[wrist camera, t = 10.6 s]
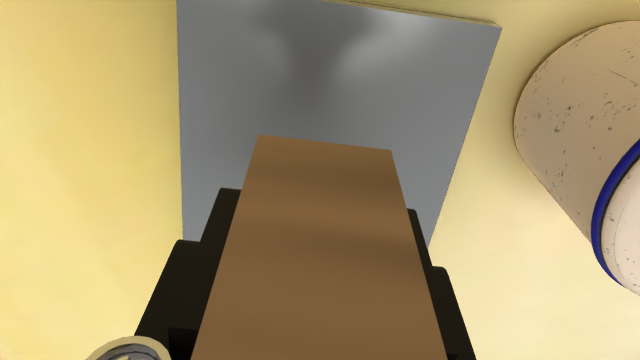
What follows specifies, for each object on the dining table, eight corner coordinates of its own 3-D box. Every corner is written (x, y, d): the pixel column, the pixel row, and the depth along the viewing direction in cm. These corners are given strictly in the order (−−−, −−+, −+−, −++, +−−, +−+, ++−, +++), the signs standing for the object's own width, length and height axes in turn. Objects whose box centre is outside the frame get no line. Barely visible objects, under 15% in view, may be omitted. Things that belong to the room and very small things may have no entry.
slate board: (182, -24, 19) (175, -21, 18) (494, 22, 20) (502, 27, 19) (189, 303, 29) (184, 315, 28) (395, 324, 30) (397, 336, 29)
